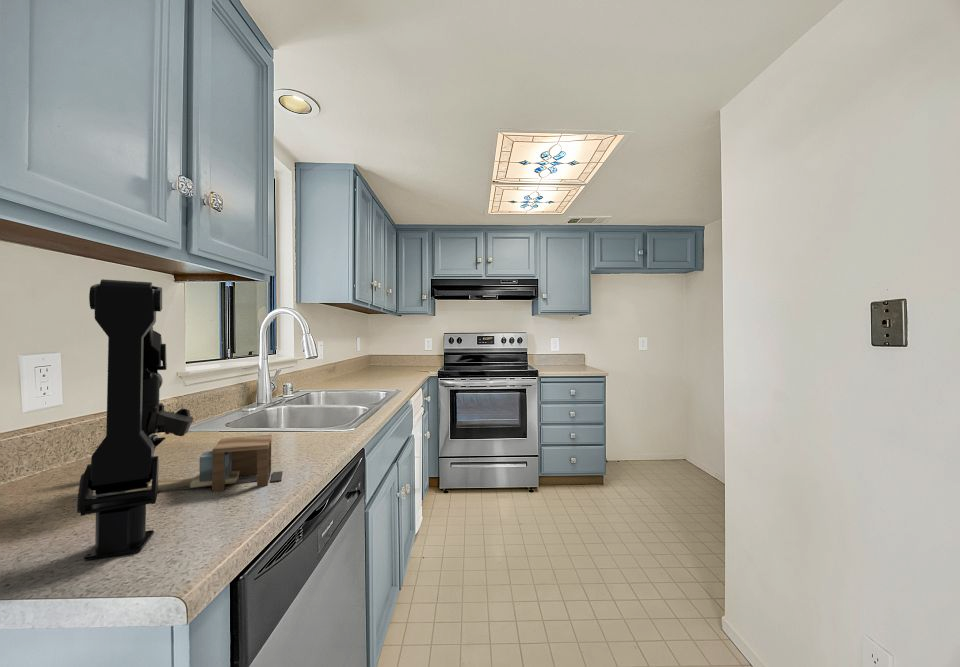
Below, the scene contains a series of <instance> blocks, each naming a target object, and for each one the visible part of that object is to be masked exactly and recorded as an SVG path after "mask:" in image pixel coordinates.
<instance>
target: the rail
mask: <svg viewBox="0 0 960 667" xmlns="http://www.w3.org/2000/svg"><path fill="white" fill-rule="evenodd" d="M270 477H271V474H270V473H268V481H269V480H270V479H271V478H270ZM249 482H251V483H252V482H257V474H253V475H243V476H238V478H237V480H236V482H235V483H228V484H225V485H233V484H242V483H243V484H244V483H249ZM205 487H206V488H207V487H212V485H209V486H200V487H191V488H190V485H189V486H179V487H170V488H161V489H158V493H160V492H168V491H169V492H170V491H177V490H187V489H197V488H205ZM132 492H135V491H132ZM122 493H129V492H125V491H122V492H116V493H109V494H102V495H96V493H95V491H93V498H96V497H103V496H109V495H116V494H122Z"/></svg>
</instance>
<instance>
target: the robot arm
mask: <svg viewBox="0 0 960 667" xmlns="http://www.w3.org/2000/svg"><path fill="white" fill-rule="evenodd" d="M88 295H89V296H88V301H89V303H88V304H89V308H90V310H94V320H95V321H96V323H97V324H98V326H99V327H100V328H101V329H102V331H103V332H104V334H105V335H106V336H107V337H108V338H107V339H108V340H107V341H108V342H107V348H108V349H107V384H106V385H107V387H106V388H107V389H106V392H107V393H106V434H105V437H104V439H103V440H102V441H101V443H100V444H99V445H98V446H97V448H96V449H95V451H94V452H93V453H92V455H91V458H90V463H88V464H87V465H86V468H85V470H84V472H83V473H82V474H81V475H80V479H79V486H78V491H77V502H76V513H78V514H80V517H84V516H87V515H92V514H95V532H94V533H95V534H94V535H95V536H94V538H95V541H94V542H95V543H94V546H92V547H91V548H90V549H88V551H87V552H86V553H85V555H84V556H83V560H84V561H87V560H96V559H99V558H101V559H102V558H105V557H106V558H107V557H108V558H109V557H114V556H120V555H128V554H134V553H139V552H141V551H142V550H143V549H144V547H145V546H146V545H147V544H148V542H149V541H150V539H151V538H152V537H153V535H154V534H155V530H154V529H153V530H151V529H150V530H147V529H146V526H147V524H146V522H147V505H154V504H156V503H157V498H158V493H159V492H158V480H159V468H160V461H159V459H160V458H159V455H155V451H156V448H157V447H158V446H159V445H160V444H162V443H163V442H164V441H165V440H166V437H159V434H161V433H164V434H165V435H170V434H173V435H174V436H177V437H178V436H179V437H184V436H185V435H186V434H188V432H189V430H190V427H191V425H192V424H193V422H194V418H193V415H192V416H191V412H190V409H188V408H183V407H181V408H180V409H179V410H177V412H175V411H166V410H165V405H164V404H163V403H162V402H160V389H161V387H162V385H163V380H164V379H163V377H162V374H160V373H159V372H158V371H166V370H167V365H168V364H167V344H166V343H163V339H162V333H159V332H158V331H156V330H154V327H153V326H155V324H156V322H157V312H162V310H163V287H159V286H155V285H153V283H152V282H151V281H150V282H149V281H147V282H146V281H133V280H121V279H119V280H117V279H116V280H115V279H104V278H103V279H101V280H100V282H99V283H96V284H92V285H90V288H89V294H88ZM158 433H159V434H158ZM150 481H152V487H151V489H148V490H142V491H135V492H129V493H122V494H116V495H109V496H103V497H96V498H93V492H95V493H96V495H102V494H109V493H116V492H122V491H129V490H136V489H142V488H148V485H149V482H150Z"/></svg>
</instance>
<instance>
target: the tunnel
mask: <svg viewBox="0 0 960 667" xmlns="http://www.w3.org/2000/svg"><path fill="white" fill-rule="evenodd" d="M212 451H213V468H212V486H211V488H212V489H211V490H212V491H211V492H212V493H213V492H221V491H225V452H232V463H231V471H239V476H238V477H243V476H253V475H257V481H256V487H265V486H268V485H269V480H268V474H270V473H272V434H263V435H250V436H249V435H248V436H246V435H245V436H237V437H235V436H234V437H223V438H220V440H219V441H218V442H217V443H216V445H214V447H213V448H212Z"/></svg>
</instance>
